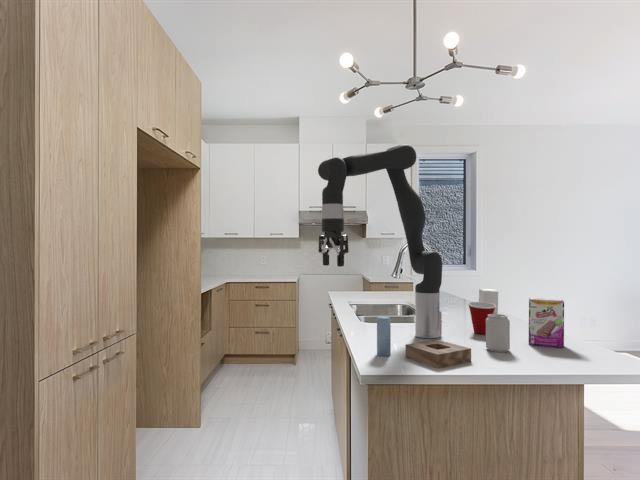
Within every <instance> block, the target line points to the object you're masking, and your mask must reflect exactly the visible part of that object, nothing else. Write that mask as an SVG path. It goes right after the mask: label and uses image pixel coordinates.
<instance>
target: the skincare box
mask: <svg viewBox="0 0 640 480" xmlns="http://www.w3.org/2000/svg"><path fill="white" fill-rule="evenodd" d="M478 302H487V303H492V304H495V305H496V308H495V309H494V313H493V314H499V291H498V290H497V289H494V288H479V289H478Z"/></svg>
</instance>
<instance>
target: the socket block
mask: <svg viewBox="0 0 640 480" xmlns="http://www.w3.org/2000/svg"><path fill="white" fill-rule="evenodd" d="M405 358H407V359H409V360H413V361H416V362H418V363H422V364H423V365H427V366H430V367H433V368H436V369H440V368H446V367H451V366H456V365H461V364H465V363H471V362H472V348H471V347H467V346H463V345H459V344H456V343H452V342H448V341H444V340H441V339H431V340H428V341H427V340H426V341H425V340H424V341H421V342H415V343H414V342H413V343H407V344H405Z"/></svg>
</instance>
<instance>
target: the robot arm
mask: <svg viewBox="0 0 640 480" xmlns="http://www.w3.org/2000/svg"><path fill="white" fill-rule="evenodd" d="M416 161H417V152H416V150H415V148H414V147H413V146H412V145H410V144H404V143H403V144H399V145H396V146H395V145H394V146H392V147H390V148H388V149H386V150H383V151H378V152H377V151H376V152H369V153H362V154H354V155H349V156H346V157H343V158H341V157H333V158H330V159H325V160H323V161H322V162H321V163H320V164H319V166H318V167H317V168H318V169H317V173H318V175H319V177H320V178H321V179H323V180H325V181H327V184H326V186H325V187H324V188H323V189H322V191H321V195H322V197H321V201H322V202H321V203H322V205H321V232H322V233H324V235H323V234H322V235H318V253H320V254H321V255H322V265H323V266H330V252H331V250H332V249H333V250H334V251H335V252H336V262H337V263H336V264H337V265H336V266H337V267H344V265H345V255H346V254H349V235H348V234H342V232H343V233H344V231H345V212H344V211H345V210H344V205H343V204H344V193H343V192H344V188H345V184H346V180H347V178H348V177H355V176H361V175H365V174H371V173H374V172H377V171H381V170H386V173H387V174H388V175H387V176H388V178H389V180H390V184H391V186H392V189H393V192H394V196H395V199H396V203H397V208H398V211H399V215H400V220H401V223H402V227H403V230H404V235H405V238H406V239H405V240H406V243H407V248H408V249H407V250H408V256H409V261H410V266H411V268H412V270H413V271H414V273H416V274H418V275H423V278H422V281H421V282H419V283H417V284H415V287H414V291H415V293H414V294H415V296H414V297H415V298H414V299H415V301H414V302H415V303H414V304H415V305H414V306H415V309H414V310H415V312H414V314H415V318H414V319H415V320H414V321H415V322H414V323H415V325H414V326H415V332H414V333H415V337H416V338H422V339H438V338H440V337H442V333H443V332H442V330H443V329H442V327H443V326H442V324H443V322H442V316H443V315H442V314H443V313H442V311H441V309H440V305H441V304H440V303H441V302H440V301H441V299H440V296H441V295H440V294H441V293H440V292H441V291H440V290H441V286H442V282H443V281H442V278H443V259H442V257H441V254H440V253H439V252H438V251H433V250H426V249H425V246H424V243H423V233H424V229H425V225H426V218H427V217H426V212H425V207H424V205H423V201H422V198H421V197H420V196H419V194H418V193H417V192H416V191H415V189H414V188H413V187H412V186H411V185H410V183H409V181H408V179H407V176H406V172H405V170H407V169H410V168H411V167H413V166H414V165H415V163H416Z"/></svg>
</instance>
